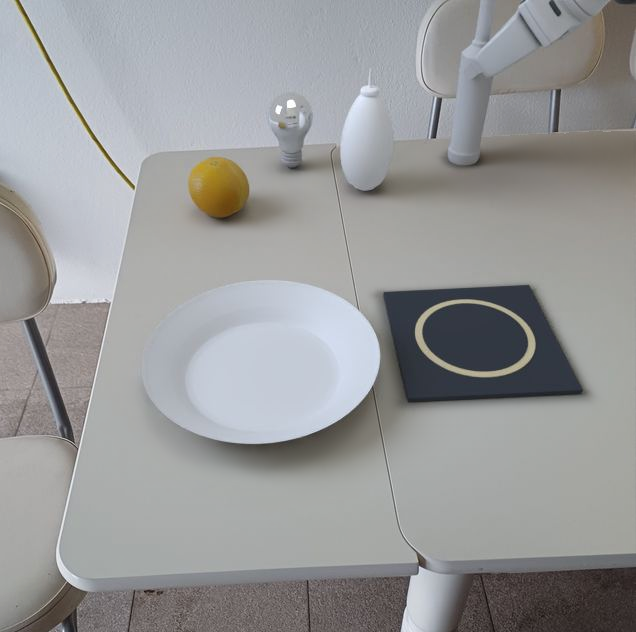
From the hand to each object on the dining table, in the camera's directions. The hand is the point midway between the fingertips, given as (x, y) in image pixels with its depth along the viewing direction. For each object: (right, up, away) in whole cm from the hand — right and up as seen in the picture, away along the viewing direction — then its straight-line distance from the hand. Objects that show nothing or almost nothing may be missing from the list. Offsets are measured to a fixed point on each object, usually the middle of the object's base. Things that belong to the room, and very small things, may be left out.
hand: (472, 67), depth 96 cm
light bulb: (-27, -12, +10) cm, 31 cm away
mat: (-7, -41, -23) cm, 47 cm away
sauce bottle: (-16, -17, +4) cm, 24 cm away
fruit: (-37, -22, 0) cm, 43 cm away
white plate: (-30, -45, -26) cm, 60 cm away
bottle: (+1, -11, +10) cm, 15 cm away
